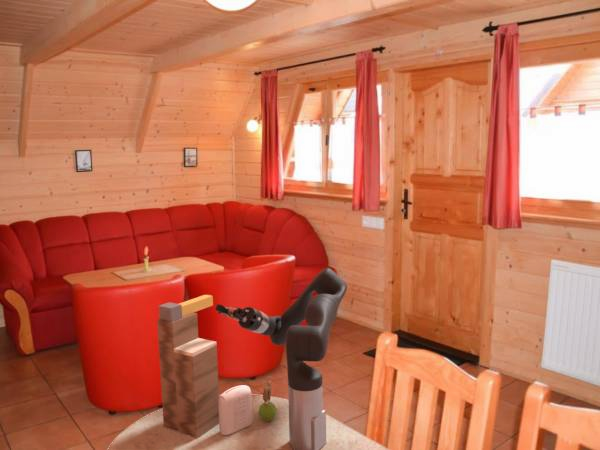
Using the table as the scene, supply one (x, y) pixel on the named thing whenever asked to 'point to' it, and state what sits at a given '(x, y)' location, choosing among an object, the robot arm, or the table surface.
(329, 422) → the table surface
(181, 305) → the bar
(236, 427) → the pink rounded block
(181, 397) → the step stand
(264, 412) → the green bud vase
